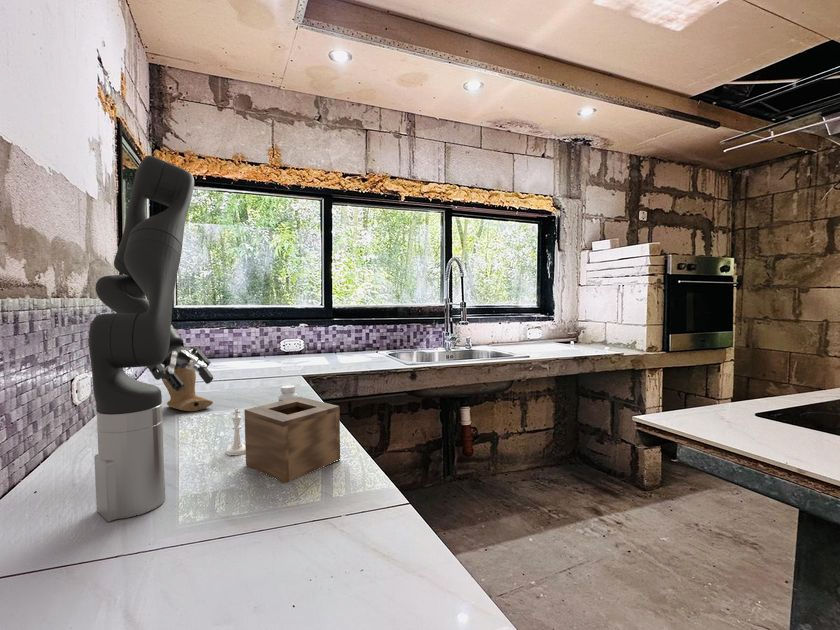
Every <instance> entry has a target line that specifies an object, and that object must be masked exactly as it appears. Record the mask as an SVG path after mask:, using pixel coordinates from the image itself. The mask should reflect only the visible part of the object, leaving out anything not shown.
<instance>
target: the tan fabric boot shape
mask: <svg viewBox="0 0 840 630" xmlns="http://www.w3.org/2000/svg"><path fill="white" fill-rule="evenodd" d="M192 362H193V361H192V360H190V363H189V364H191V363H192ZM162 367H163V368H164V365H162ZM173 374H176V375H177V376H178V377H179V378H180V380H181V381H182V382H183V384H184V387H183V388H182V390H181V391H176V390H175V389H173V388H172V386H171V385H170V384H169V383H168V381H167V380H164V379H161V381H162V383H163V384H164V387H165V388H166V390H167V393H168V394H169V397H170V399H169V400H168V401H167V402H166V405H167V406H168V407H169V408H172V409H177V410H179V411H185V412H196V411H201V410H203V409H206V408H208V407H210V406H212V405H213V404H214V401H213V400H210V399H208V398H204V397H200V396H198V395H197V394H196V388H195V387H196V378H197V374H196V371H194V370H189V369H187V368H179V369H177V370H174V373H173Z"/></svg>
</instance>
